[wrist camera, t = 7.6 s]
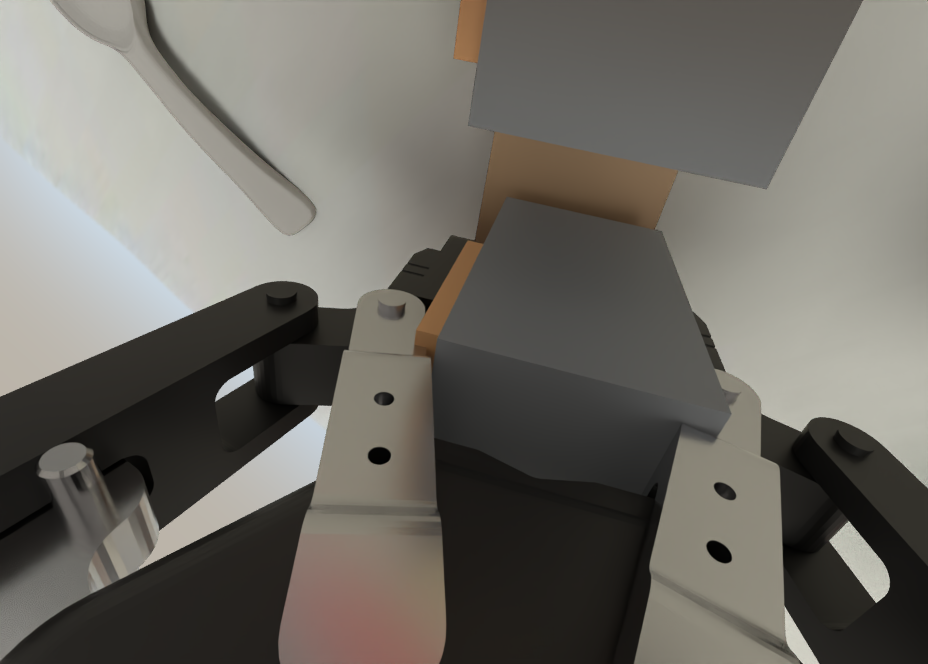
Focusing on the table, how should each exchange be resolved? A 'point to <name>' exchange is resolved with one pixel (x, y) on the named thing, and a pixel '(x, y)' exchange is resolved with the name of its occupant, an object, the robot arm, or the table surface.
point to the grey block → (568, 349)
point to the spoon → (190, 108)
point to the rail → (639, 95)
